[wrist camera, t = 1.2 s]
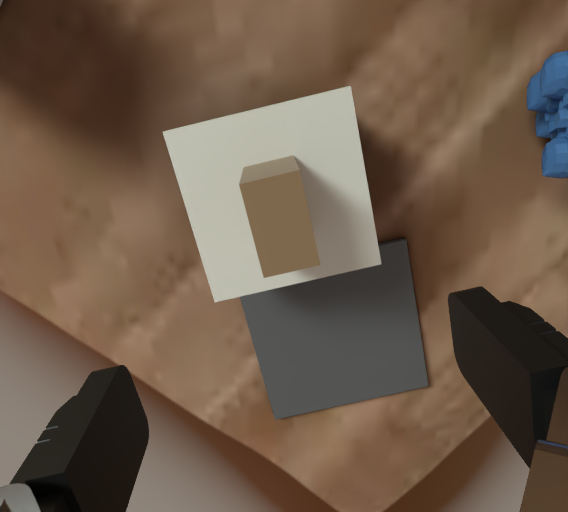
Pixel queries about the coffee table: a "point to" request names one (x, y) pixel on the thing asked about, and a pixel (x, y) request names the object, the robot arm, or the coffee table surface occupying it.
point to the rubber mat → (339, 336)
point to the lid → (277, 194)
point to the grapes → (552, 112)
